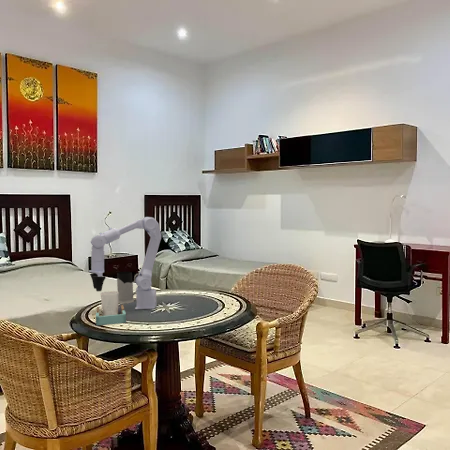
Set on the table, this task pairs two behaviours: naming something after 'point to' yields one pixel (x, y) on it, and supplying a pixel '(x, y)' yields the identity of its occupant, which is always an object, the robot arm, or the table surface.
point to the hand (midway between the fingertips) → (97, 289)
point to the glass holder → (125, 287)
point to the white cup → (109, 303)
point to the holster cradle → (121, 308)
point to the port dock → (111, 319)
